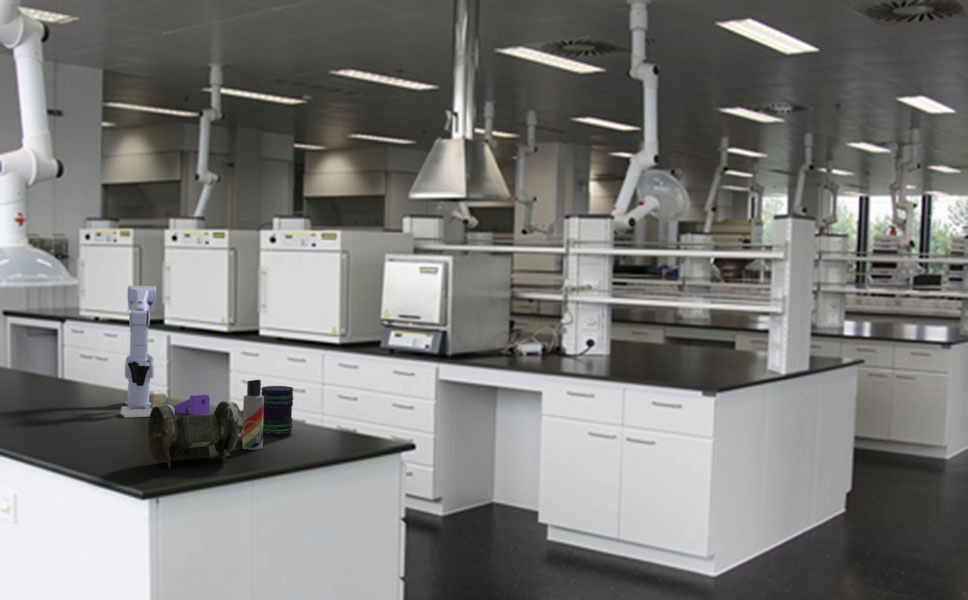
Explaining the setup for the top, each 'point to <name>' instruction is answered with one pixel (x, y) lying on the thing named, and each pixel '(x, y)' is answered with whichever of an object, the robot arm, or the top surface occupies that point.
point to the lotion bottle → (253, 416)
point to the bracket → (194, 405)
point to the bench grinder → (193, 433)
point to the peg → (158, 399)
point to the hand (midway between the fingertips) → (138, 384)
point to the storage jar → (277, 411)
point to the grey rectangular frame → (138, 411)
